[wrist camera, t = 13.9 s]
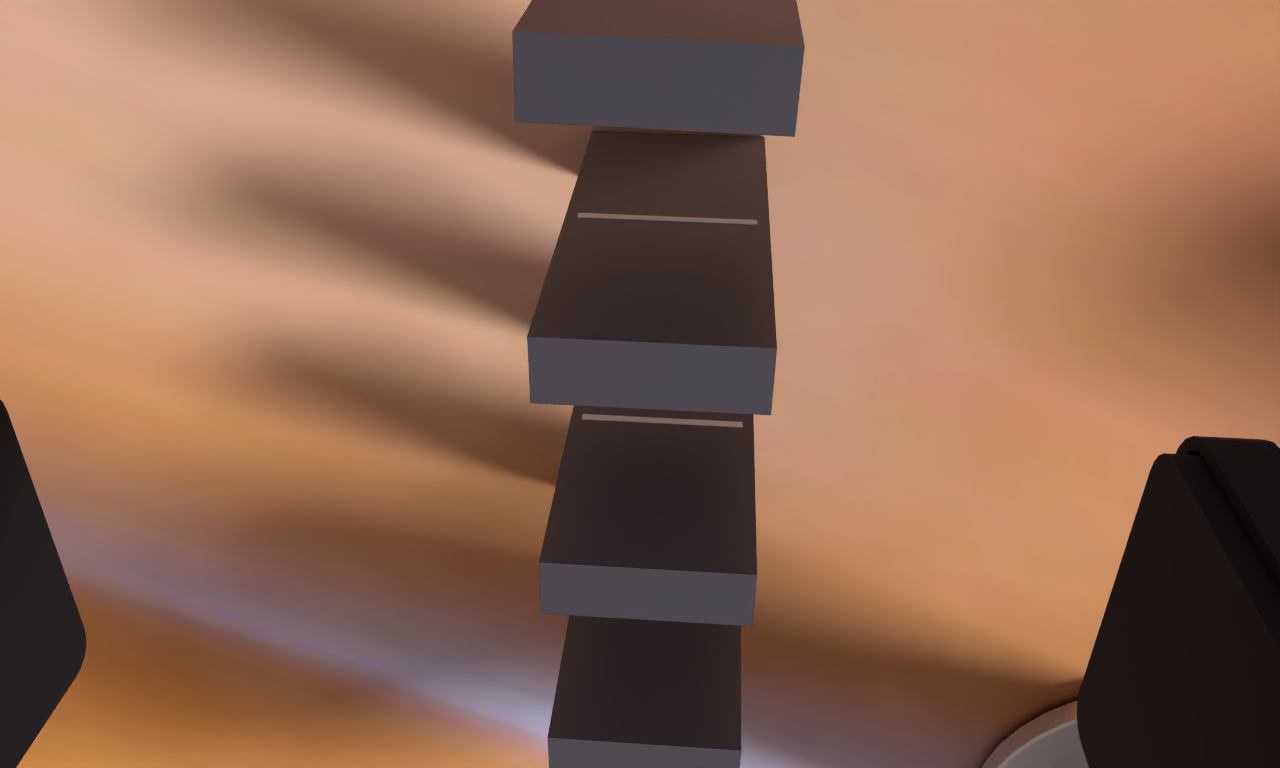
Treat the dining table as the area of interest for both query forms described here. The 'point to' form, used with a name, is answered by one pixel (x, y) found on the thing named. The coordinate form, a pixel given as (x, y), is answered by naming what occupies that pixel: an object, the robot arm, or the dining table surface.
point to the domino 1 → (660, 64)
